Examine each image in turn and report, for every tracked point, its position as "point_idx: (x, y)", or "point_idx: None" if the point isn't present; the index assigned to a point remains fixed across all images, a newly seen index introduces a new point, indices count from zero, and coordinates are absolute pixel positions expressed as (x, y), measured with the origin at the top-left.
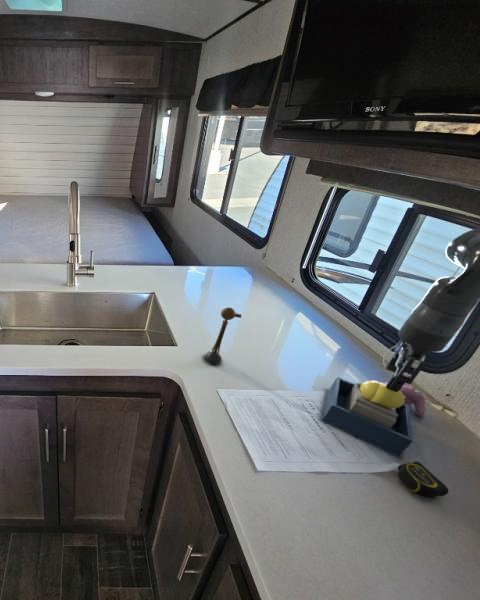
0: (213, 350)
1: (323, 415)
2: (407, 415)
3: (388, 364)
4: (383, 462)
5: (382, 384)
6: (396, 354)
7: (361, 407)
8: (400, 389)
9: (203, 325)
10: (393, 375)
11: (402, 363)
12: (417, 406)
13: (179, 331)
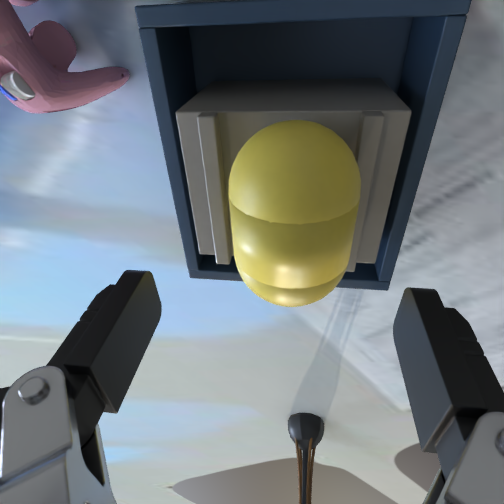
0: (313, 460)
1: None
2: (239, 19)
3: (146, 346)
4: (500, 55)
5: (284, 276)
6: (104, 469)
7: (379, 239)
8: (10, 44)
9: (194, 437)
10: (425, 447)
11: (105, 349)
12: None
13: (255, 459)
